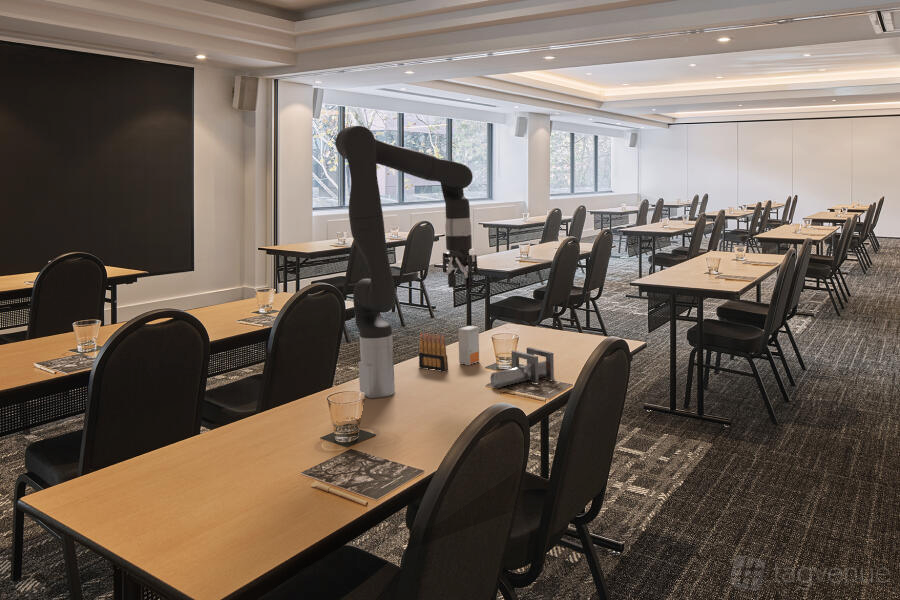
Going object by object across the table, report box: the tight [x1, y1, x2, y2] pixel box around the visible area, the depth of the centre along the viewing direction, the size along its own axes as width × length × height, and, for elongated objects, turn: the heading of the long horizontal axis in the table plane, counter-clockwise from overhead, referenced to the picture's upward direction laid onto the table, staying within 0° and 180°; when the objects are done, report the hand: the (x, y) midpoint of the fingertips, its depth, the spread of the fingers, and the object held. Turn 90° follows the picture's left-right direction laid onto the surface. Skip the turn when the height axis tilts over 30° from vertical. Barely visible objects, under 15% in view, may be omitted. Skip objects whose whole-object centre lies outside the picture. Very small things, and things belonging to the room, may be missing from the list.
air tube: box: [490, 360, 546, 389], centre depth 218 cm, size 20×5×5 cm, turn 125°
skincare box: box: [457, 325, 480, 366], centre depth 242 cm, size 6×4×12 cm
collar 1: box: [511, 350, 540, 383], centre depth 218 cm, size 1×11×8 cm, turn 35°
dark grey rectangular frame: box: [526, 346, 555, 382], centre depth 222 cm, size 1×11×8 cm, turn 35°
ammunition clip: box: [418, 331, 449, 372], centre depth 236 cm, size 11×2×12 cm, turn 52°
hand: (460, 288), depth 218 cm, fingers open, 8 cm apart
